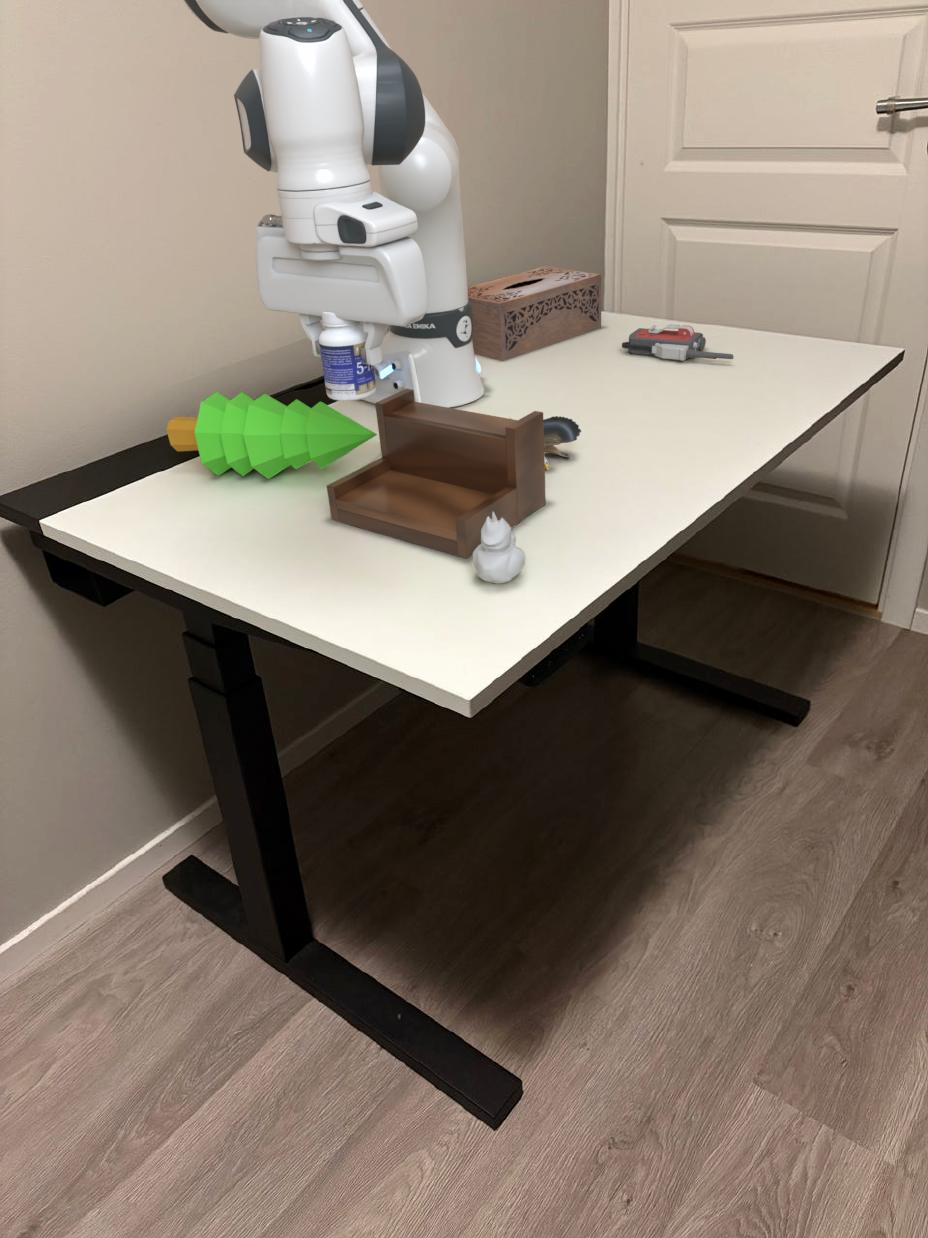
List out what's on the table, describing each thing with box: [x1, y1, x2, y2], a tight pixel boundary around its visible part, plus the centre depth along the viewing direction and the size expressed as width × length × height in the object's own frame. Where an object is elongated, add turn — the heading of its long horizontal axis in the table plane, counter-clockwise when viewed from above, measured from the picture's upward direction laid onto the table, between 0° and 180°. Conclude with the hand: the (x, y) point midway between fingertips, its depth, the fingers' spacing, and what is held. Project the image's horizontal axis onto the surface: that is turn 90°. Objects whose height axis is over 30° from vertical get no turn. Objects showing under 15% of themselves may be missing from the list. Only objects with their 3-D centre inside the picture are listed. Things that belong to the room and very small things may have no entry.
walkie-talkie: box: [621, 323, 734, 362], centre depth 160 cm, size 9×4×20 cm
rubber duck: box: [471, 512, 526, 584], centre depth 97 cm, size 5×7×8 cm
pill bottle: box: [319, 312, 376, 402], centre depth 98 cm, size 5×5×9 cm
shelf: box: [326, 389, 547, 559], centre depth 111 cm, size 16×20×12 cm
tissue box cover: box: [467, 265, 602, 362], centre depth 175 cm, size 26×14×10 cm, turn 132°
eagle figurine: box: [543, 415, 582, 471], centre depth 123 cm, size 8×7×9 cm
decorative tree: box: [165, 391, 378, 480], centre depth 126 cm, size 11×12×30 cm
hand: (348, 359), depth 98 cm, fingers closed on pill bottle, 5 cm apart
